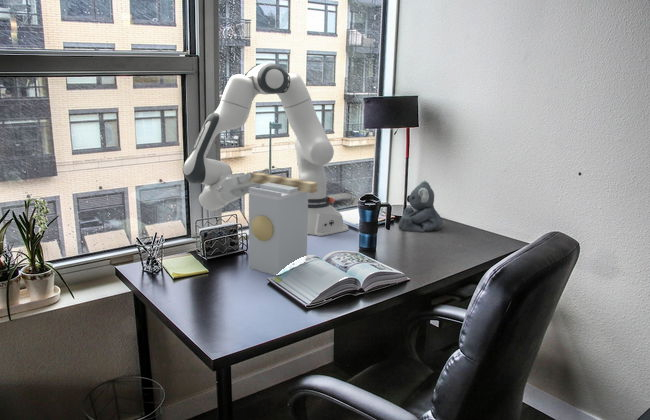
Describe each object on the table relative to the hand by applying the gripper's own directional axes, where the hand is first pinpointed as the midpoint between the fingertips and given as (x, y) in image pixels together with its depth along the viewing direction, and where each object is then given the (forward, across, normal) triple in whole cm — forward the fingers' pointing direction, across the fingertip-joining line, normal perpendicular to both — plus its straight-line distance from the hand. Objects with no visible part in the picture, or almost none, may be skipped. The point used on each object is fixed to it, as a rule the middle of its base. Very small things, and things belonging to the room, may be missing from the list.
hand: (259, 172), depth 184 cm
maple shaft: (+7, 0, +8) cm, 10 cm away
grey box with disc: (-5, -4, +31) cm, 32 cm away
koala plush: (+13, +68, +42) cm, 81 cm away
